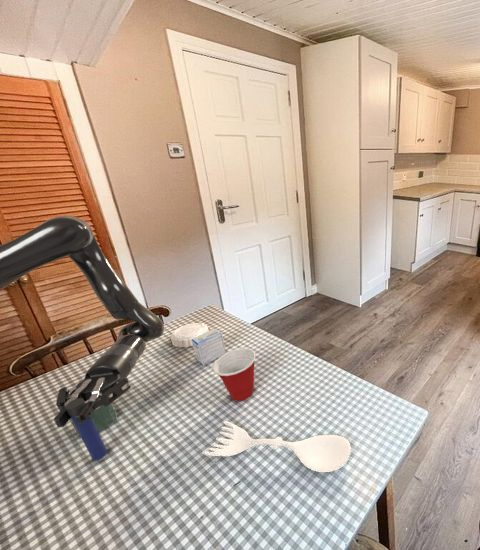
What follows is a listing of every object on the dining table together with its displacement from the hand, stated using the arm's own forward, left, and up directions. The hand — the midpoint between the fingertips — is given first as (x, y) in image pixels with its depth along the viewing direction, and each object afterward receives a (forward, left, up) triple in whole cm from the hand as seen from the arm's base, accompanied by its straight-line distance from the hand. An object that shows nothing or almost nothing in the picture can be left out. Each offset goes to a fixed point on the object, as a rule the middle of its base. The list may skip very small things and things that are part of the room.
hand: (69, 421), depth 60 cm
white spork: (+39, -5, -14) cm, 42 cm away
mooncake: (+6, +50, -14) cm, 52 cm away
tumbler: (-6, +14, -14) cm, 21 cm away
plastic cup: (+28, +16, -14) cm, 35 cm away
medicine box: (+16, +36, -14) cm, 42 cm away
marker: (0, +3, -13) cm, 13 cm away
